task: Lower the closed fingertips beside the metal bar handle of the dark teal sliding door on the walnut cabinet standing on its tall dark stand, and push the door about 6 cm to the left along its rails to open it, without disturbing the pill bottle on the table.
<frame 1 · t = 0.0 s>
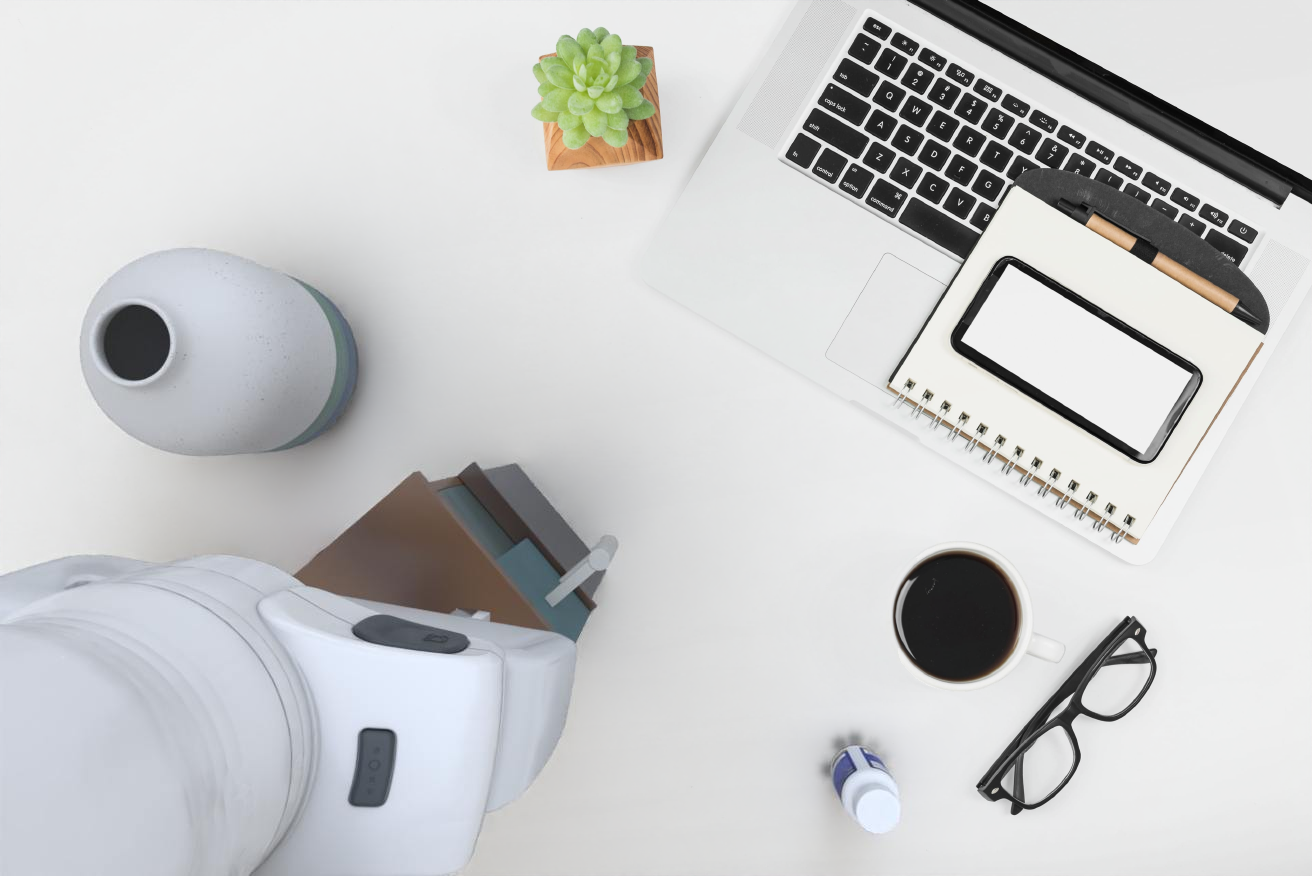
hand: (370, 609, 37), 45 cm above the table, tool pointing down, fingers open, 8 cm apart
headphones: (361, 647, 83), on the table, touching alarm clock
pill bottle: (856, 769, 82), on the table
cabinet: (523, 548, 82), on the table
vase: (291, 366, 83), on the table
alarm clock: (251, 624, 83), on the table, touching headphones
sliding door: (570, 570, 54), point 28 cm above the table, slide at 0.0 cm
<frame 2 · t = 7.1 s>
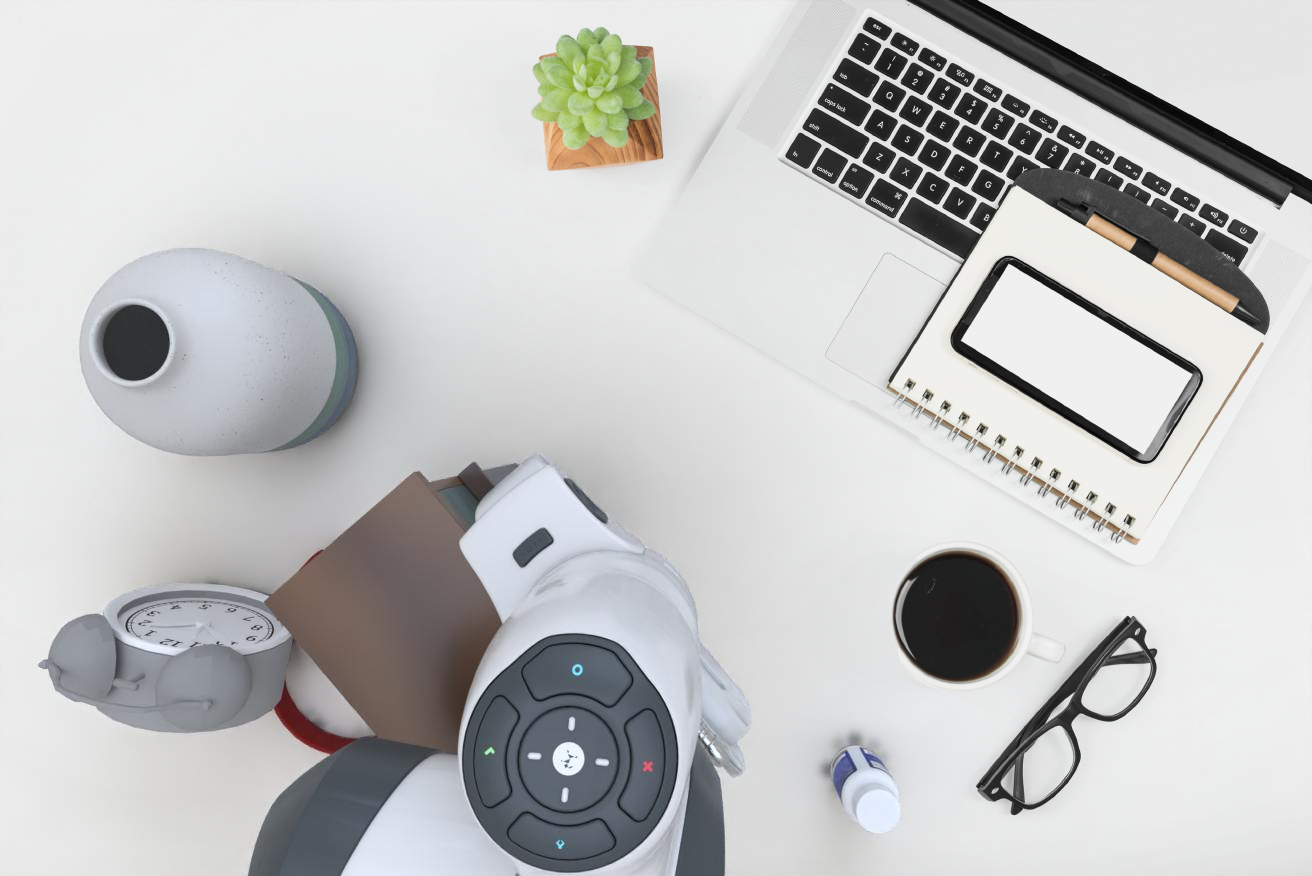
hand: (628, 579, 56), 26 cm above the table, tool pointing down, fingers closed
sliding door: (565, 565, 54), point 28 cm above the table, slide at 0.5 cm, touching gripper
everything else where it was.
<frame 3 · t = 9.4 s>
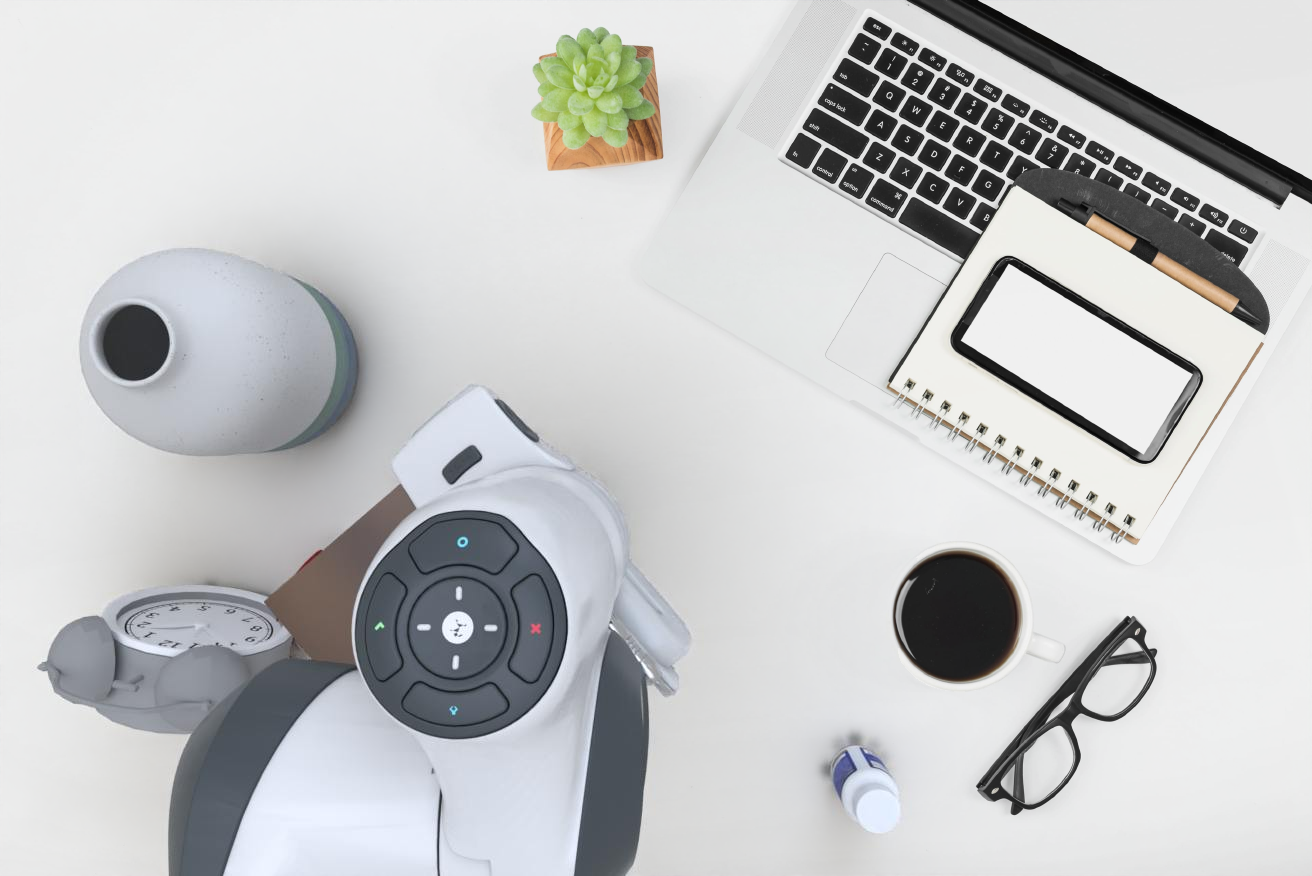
hand: (576, 518, 56), 26 cm above the table, tool pointing down, fingers closed
sliding door: (509, 498, 54), point 28 cm above the table, slide at 6.2 cm, touching gripper
everything else where it was.
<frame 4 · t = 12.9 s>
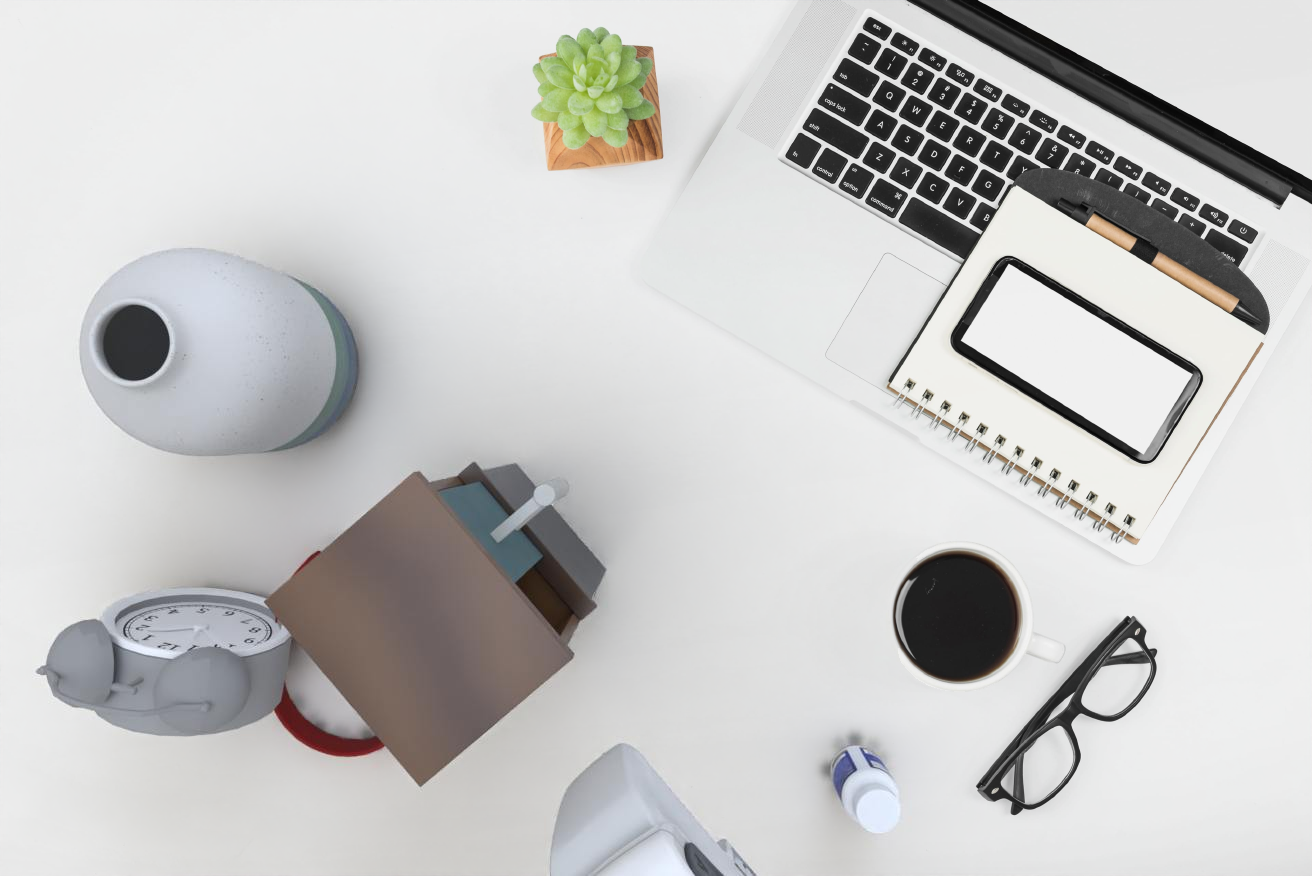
hand: (730, 867, 43), 39 cm above the table, tool pointing down, fingers closed
sliding door: (517, 507, 54), point 28 cm above the table, slide at 5.4 cm
everything else where it was.
at the end: sliding door slide at 5.4 cm; pill bottle moved 0.2 cm from its start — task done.
